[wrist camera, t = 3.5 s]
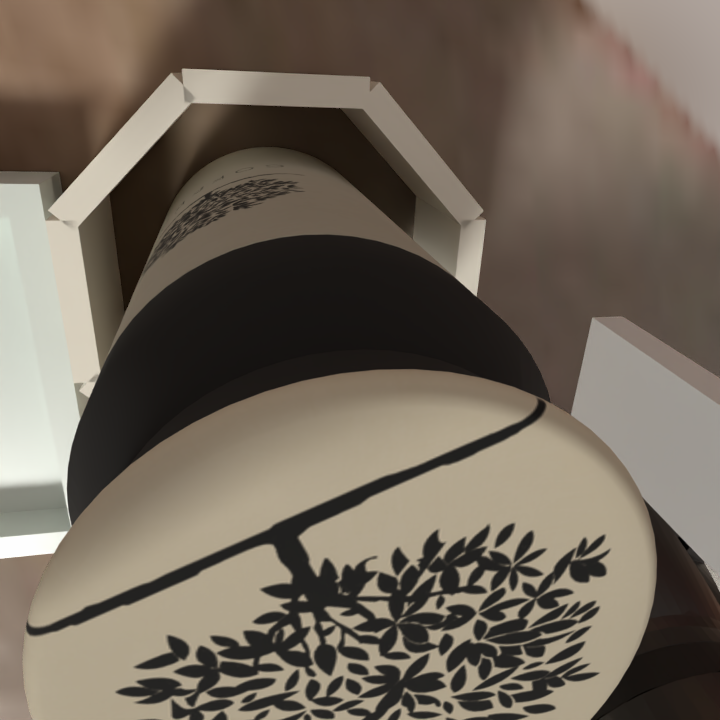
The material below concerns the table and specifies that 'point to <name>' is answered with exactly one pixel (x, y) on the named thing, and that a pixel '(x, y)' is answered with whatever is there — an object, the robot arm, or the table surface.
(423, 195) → the holder
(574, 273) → the table surface
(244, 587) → the travel mug
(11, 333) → the tray
